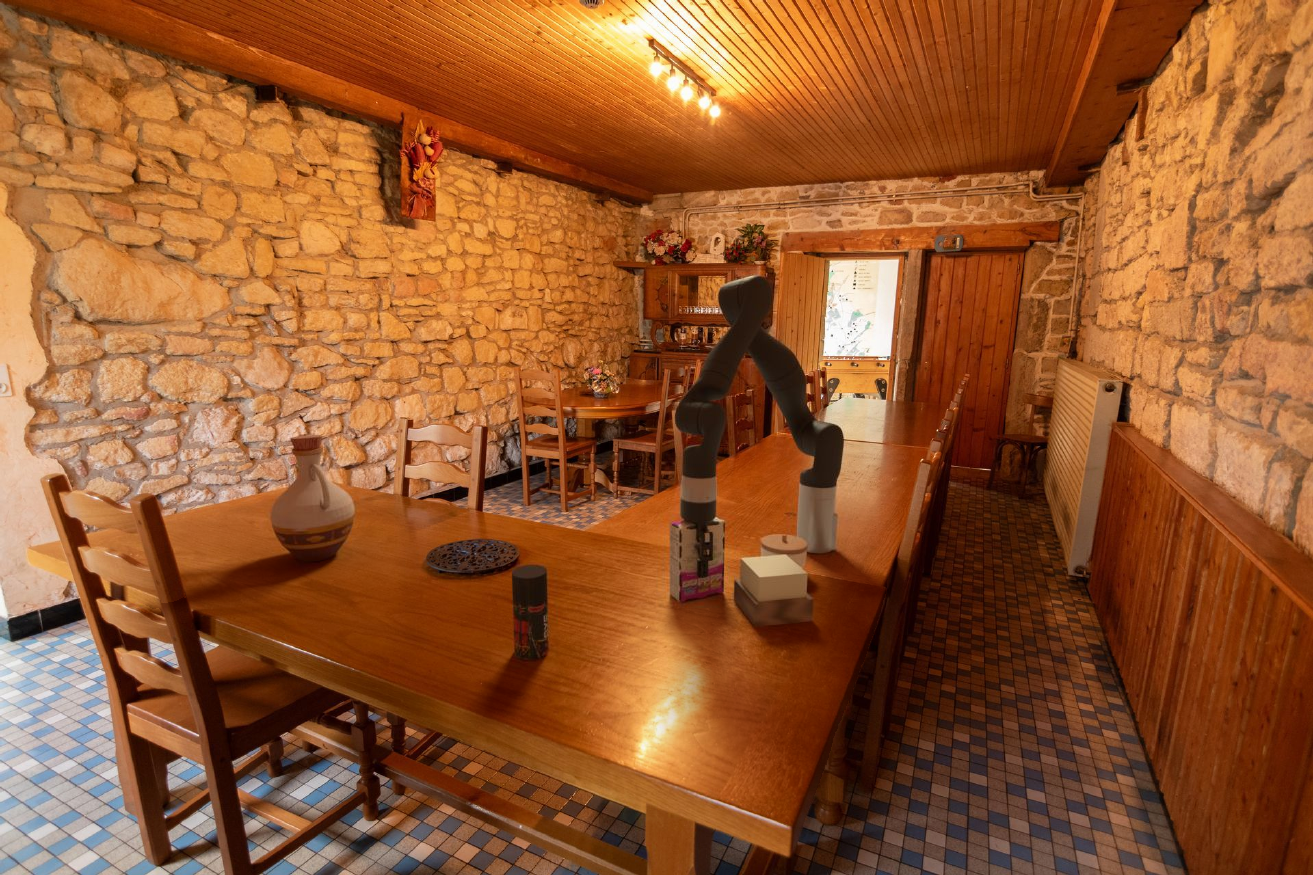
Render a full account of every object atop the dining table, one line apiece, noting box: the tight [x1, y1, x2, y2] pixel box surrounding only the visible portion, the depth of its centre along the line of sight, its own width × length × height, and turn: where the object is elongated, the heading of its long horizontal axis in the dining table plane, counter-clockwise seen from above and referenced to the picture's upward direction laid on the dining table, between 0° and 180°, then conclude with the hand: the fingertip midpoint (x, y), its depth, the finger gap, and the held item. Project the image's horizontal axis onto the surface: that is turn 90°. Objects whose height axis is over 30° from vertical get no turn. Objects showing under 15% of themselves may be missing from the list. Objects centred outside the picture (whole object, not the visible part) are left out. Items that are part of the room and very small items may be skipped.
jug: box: [269, 434, 355, 563], centre depth 147 cm, size 20×18×30 cm
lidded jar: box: [760, 533, 808, 569], centre depth 143 cm, size 11×11×9 cm
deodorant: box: [511, 564, 550, 662], centre depth 107 cm, size 6×6×15 cm
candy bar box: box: [669, 516, 726, 604], centre depth 130 cm, size 11×5×16 cm, turn 117°
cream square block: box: [739, 555, 809, 602], centre depth 124 cm, size 10×10×5 cm
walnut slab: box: [733, 578, 814, 628], centre depth 125 cm, size 12×12×5 cm
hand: (696, 569), depth 131 cm, fingers open, 8 cm apart
